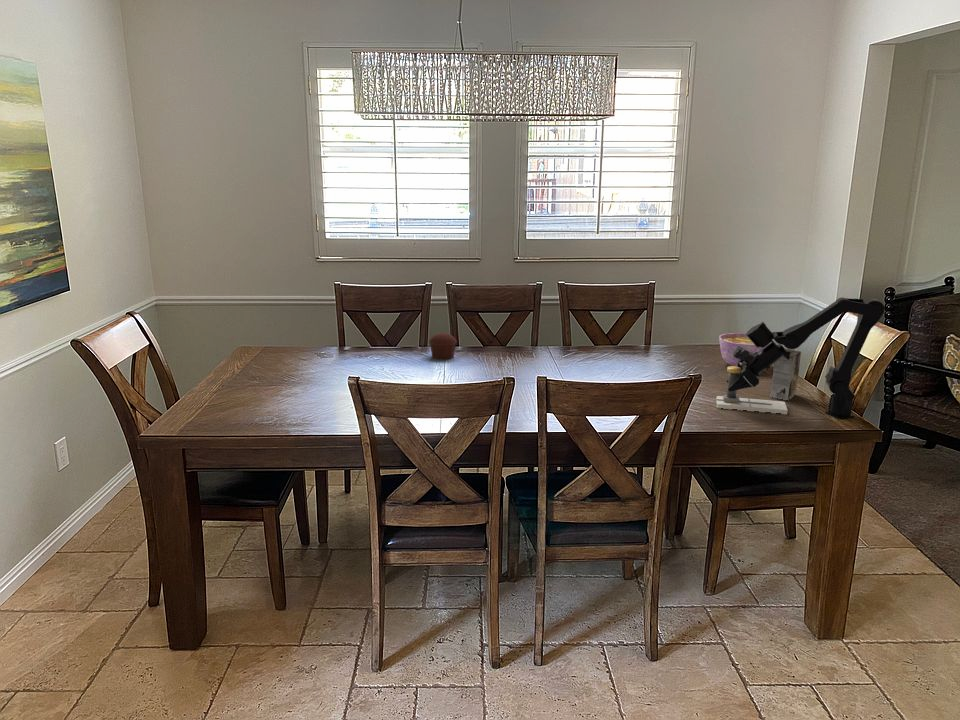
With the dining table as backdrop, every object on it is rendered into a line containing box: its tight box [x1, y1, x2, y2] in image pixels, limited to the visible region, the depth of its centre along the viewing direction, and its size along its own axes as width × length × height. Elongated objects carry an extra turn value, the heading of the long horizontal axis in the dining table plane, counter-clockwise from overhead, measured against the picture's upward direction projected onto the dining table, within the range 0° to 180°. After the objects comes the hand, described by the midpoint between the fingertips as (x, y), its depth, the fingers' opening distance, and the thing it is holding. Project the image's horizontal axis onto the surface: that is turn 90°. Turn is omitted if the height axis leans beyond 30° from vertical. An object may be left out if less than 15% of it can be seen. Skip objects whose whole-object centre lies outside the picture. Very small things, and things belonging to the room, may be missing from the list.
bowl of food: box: [718, 332, 772, 367], centre depth 294 cm, size 20×20×12 cm
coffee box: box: [769, 348, 802, 401], centre depth 257 cm, size 9×6×16 cm
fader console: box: [715, 395, 788, 415], centre depth 247 cm, size 22×9×2 cm, turn 74°
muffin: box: [428, 332, 458, 361], centre depth 306 cm, size 12×11×10 cm
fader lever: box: [722, 365, 741, 403], centre depth 247 cm, size 5×4×11 cm
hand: (728, 386), depth 248 cm, fingers open, 9 cm apart
